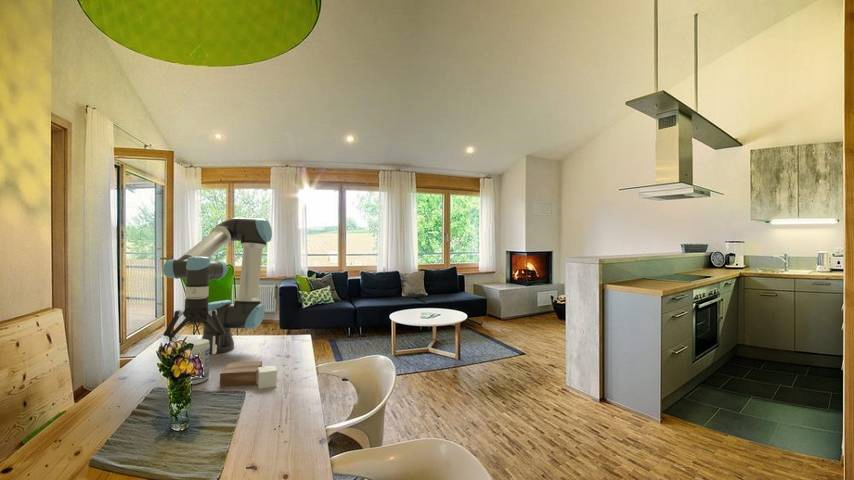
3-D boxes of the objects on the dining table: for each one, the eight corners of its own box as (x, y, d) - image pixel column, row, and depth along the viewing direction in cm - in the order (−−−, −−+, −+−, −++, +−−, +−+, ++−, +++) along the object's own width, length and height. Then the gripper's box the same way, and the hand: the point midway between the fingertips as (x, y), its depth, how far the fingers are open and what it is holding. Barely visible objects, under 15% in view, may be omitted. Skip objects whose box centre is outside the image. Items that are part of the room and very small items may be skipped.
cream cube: (257, 383, 140) (257, 367, 140) (274, 380, 143) (275, 365, 143) (258, 389, 135) (259, 372, 135) (276, 386, 138) (276, 370, 138)
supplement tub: (211, 381, 140) (213, 342, 140) (182, 387, 133) (183, 347, 133) (205, 374, 147) (206, 337, 147) (176, 380, 140) (177, 341, 140)
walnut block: (229, 375, 147) (229, 362, 147) (261, 373, 150) (262, 361, 150) (219, 387, 135) (220, 373, 135) (255, 385, 138) (255, 371, 138)
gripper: (154, 298, 134) (151, 358, 133) (230, 298, 140) (227, 355, 139) (163, 296, 141) (161, 352, 141) (235, 296, 147) (233, 349, 147)
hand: (194, 353), depth 140 cm, fingers open, 13 cm apart
